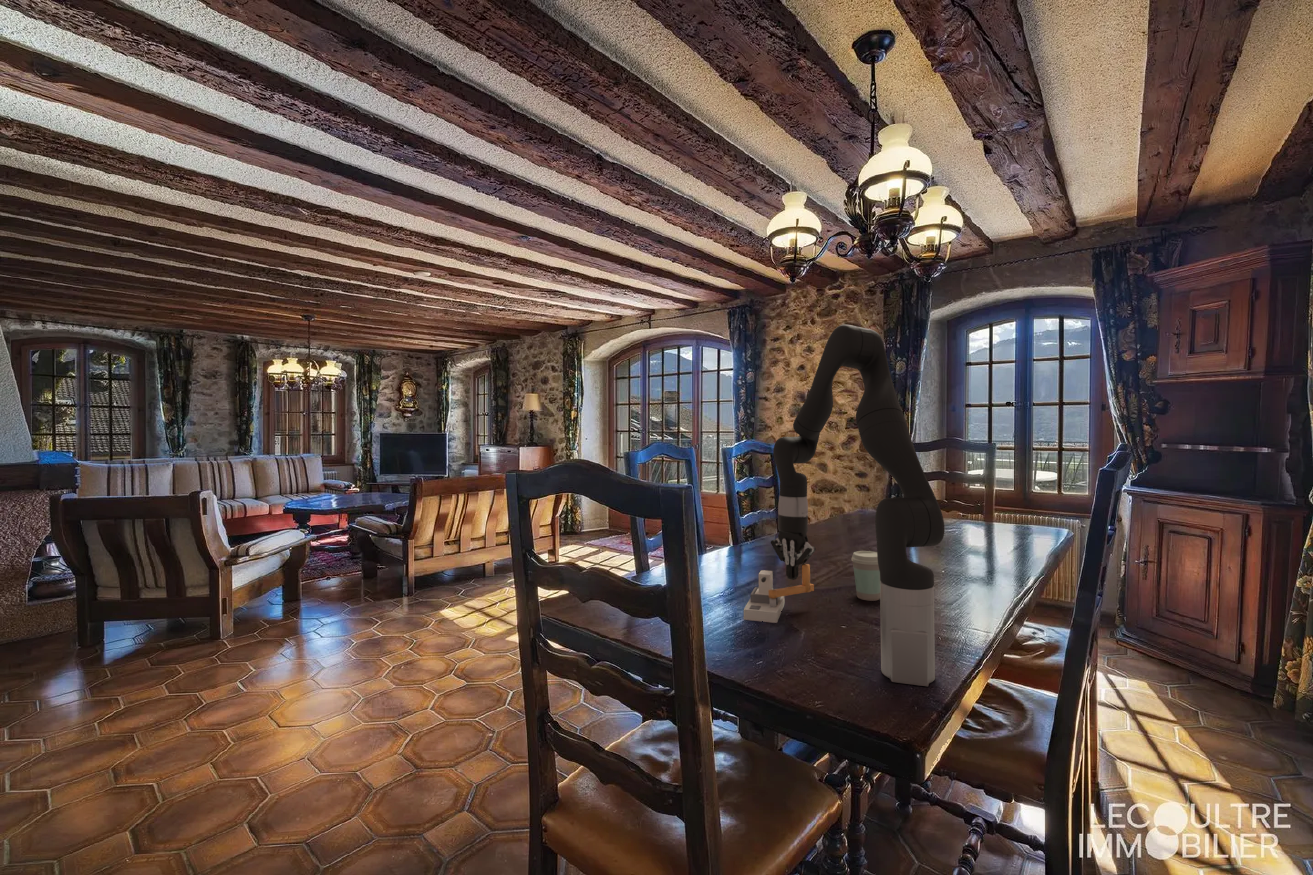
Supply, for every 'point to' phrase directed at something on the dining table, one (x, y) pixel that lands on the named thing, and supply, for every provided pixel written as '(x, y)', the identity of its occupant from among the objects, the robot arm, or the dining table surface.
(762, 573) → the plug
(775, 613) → the white stepped base
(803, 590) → the crank handle
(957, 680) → the dining table surface
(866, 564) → the coffee cup
